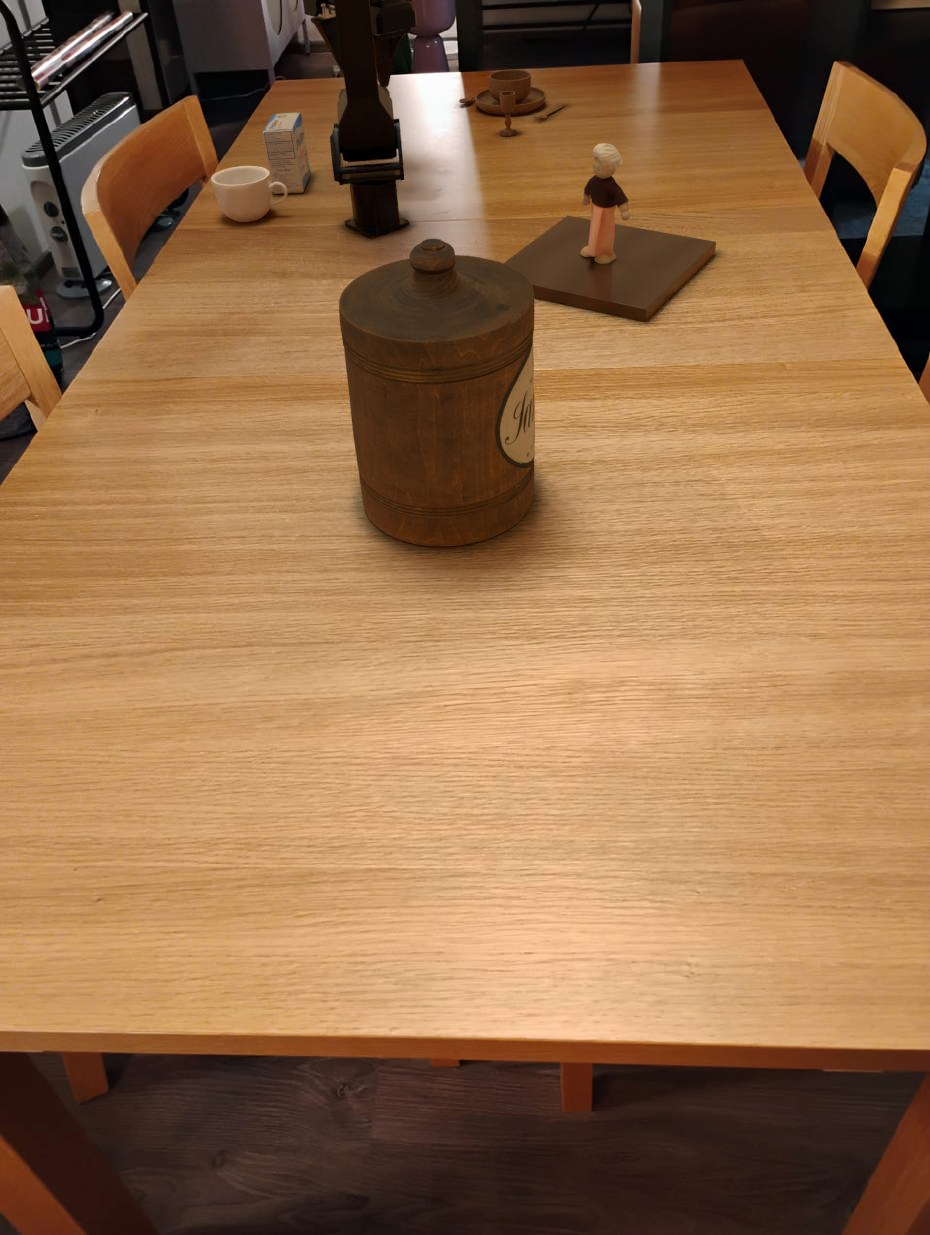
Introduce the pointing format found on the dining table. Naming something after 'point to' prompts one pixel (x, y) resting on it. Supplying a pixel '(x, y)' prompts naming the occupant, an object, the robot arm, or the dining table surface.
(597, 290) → the stand board
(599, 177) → the grandmother figurine
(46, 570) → the dining table surface
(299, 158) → the medicine box
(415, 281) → the wooden container
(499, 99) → the place setting
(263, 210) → the teacup
